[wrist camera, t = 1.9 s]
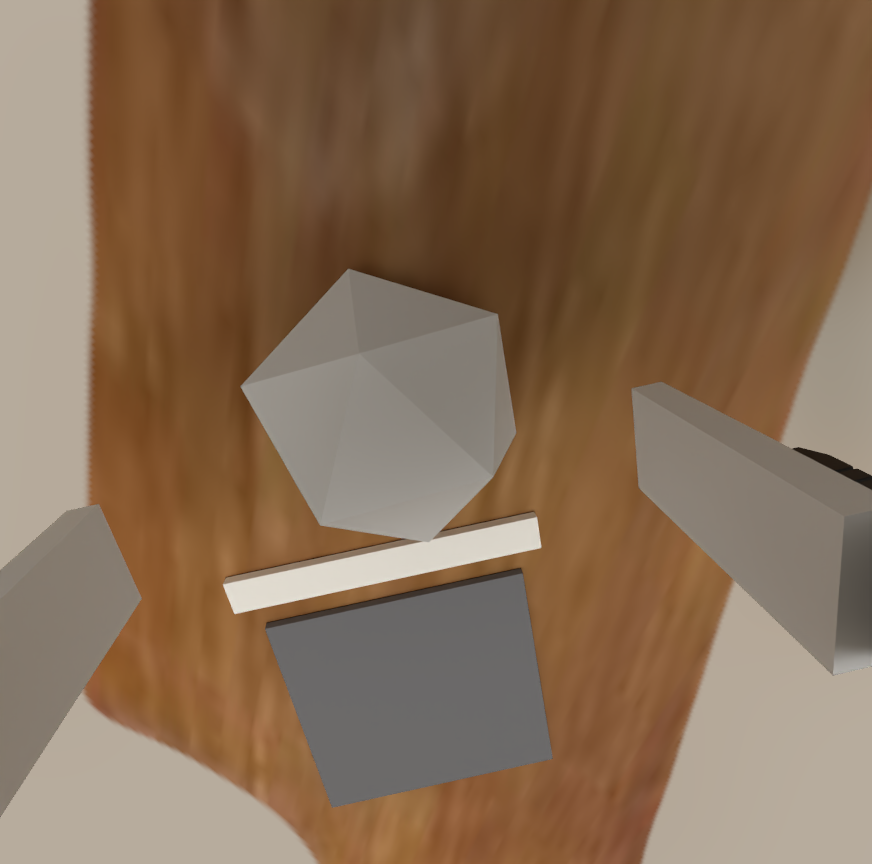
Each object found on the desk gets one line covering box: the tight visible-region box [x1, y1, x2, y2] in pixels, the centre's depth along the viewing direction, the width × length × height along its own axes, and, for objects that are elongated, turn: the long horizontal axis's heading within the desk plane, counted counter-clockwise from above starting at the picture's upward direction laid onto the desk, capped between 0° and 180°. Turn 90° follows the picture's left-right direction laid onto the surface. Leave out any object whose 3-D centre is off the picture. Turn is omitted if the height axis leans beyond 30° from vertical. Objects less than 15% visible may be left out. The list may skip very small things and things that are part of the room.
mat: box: [223, 512, 553, 808], centre depth 27 cm, size 14×15×1 cm
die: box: [240, 269, 516, 542], centre depth 19 cm, size 8×9×10 cm
